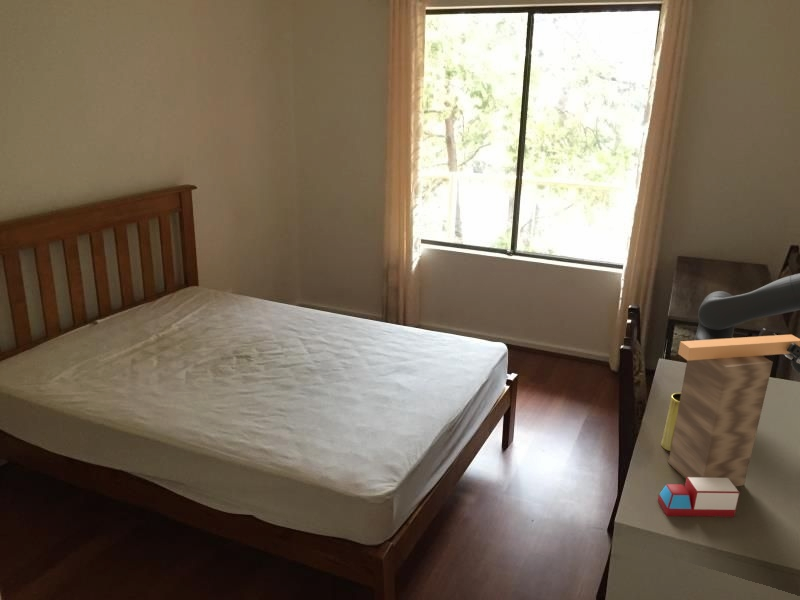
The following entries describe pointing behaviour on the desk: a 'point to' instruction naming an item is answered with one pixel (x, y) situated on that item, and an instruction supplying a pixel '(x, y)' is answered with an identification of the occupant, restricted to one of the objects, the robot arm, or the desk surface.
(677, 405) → the vase
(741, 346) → the light orange bar
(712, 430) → the pedestal
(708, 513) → the toy truck
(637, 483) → the desk surface
